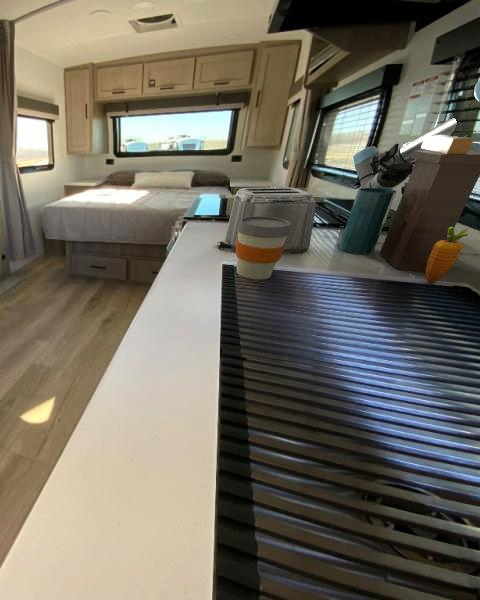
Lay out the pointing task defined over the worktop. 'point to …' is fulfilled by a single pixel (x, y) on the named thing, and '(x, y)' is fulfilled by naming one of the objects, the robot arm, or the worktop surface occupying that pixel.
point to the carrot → (443, 256)
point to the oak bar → (447, 144)
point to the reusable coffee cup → (260, 245)
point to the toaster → (275, 214)
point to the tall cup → (366, 220)
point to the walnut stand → (429, 206)
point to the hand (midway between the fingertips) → (426, 147)
